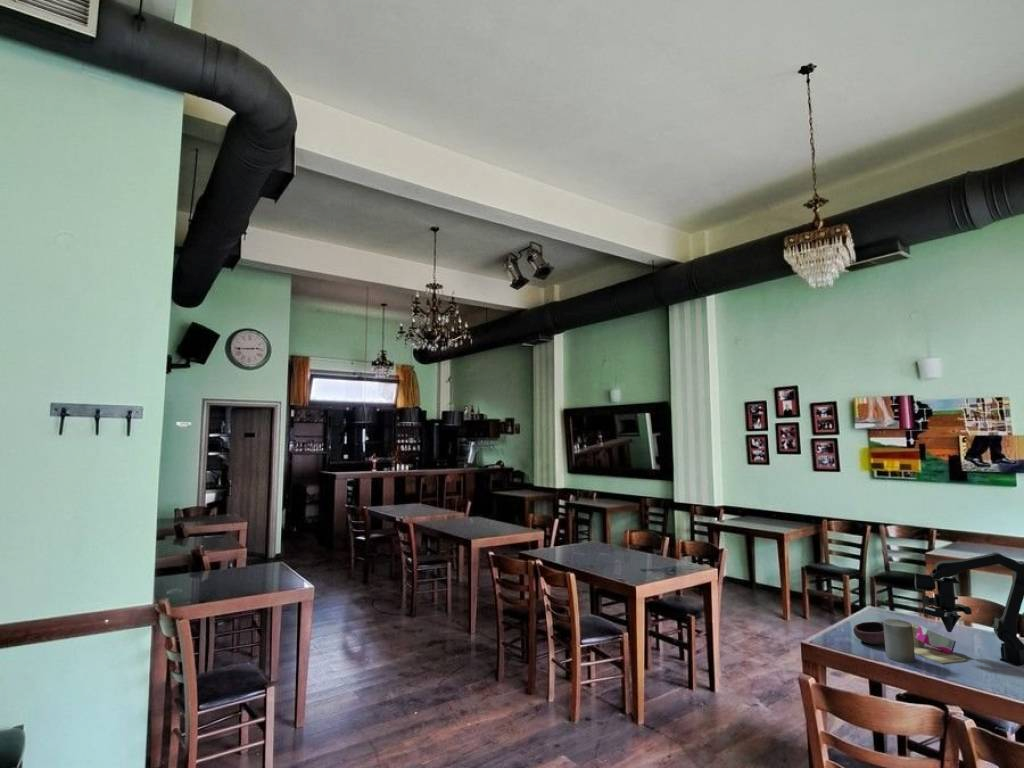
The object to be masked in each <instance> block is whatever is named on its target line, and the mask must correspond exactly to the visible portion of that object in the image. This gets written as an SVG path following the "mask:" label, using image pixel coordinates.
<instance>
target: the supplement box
mask: <svg viewBox="0 0 1024 768" xmlns="http://www.w3.org/2000/svg"><path fill="white" fill-rule="evenodd" d="M918 626H919V627H918V630H917V633H916V636H915V638H916V639H918V640H919V641H921V642H923V643H925V645H927V646H931V647H934V648H936V649H939V650H942V651H944V652H947V653H949V654H953V651H954V648H955V646H956V643H957V641H956V640H955V639H952V638H950V637H948V636H947V635H943V634H942V633H939V632H937V631H935V630H932V629H930V628H927V627H924V626H922V625H918Z"/></svg>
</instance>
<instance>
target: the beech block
mask: <svg viewBox="0 0 1024 768" xmlns="http://www.w3.org/2000/svg"><path fill="white" fill-rule="evenodd" d="M911 624H912V631H913V641H914V648H919V647H926V646H925V645H926V644H925V643H923V642H921V641H919V640H918V639H916V638H915V636H916V633H917V630H918V627H919V626H920V625H917V624H913V623H911Z"/></svg>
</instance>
